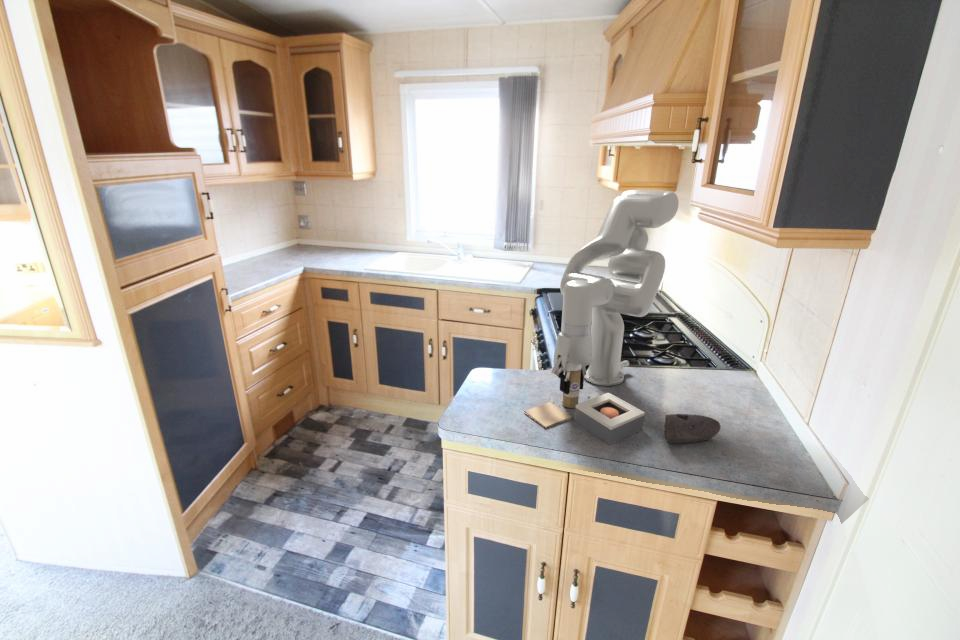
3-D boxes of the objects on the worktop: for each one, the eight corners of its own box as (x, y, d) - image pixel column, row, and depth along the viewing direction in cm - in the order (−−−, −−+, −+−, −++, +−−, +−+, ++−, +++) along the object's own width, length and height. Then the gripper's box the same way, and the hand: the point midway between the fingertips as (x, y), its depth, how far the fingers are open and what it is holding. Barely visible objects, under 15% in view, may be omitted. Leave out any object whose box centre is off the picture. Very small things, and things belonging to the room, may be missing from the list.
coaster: (549, 403, 129) (549, 401, 128) (571, 418, 121) (572, 416, 121) (524, 412, 124) (524, 410, 124) (545, 428, 117) (545, 426, 117)
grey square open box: (606, 408, 126) (608, 392, 124) (642, 429, 116) (644, 412, 115) (574, 421, 120) (575, 404, 118) (609, 444, 110) (611, 426, 109)
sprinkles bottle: (568, 410, 125) (571, 365, 121) (558, 402, 129) (561, 359, 124) (582, 406, 127) (585, 362, 122) (571, 399, 131) (575, 356, 126)
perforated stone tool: (712, 432, 115) (717, 408, 113) (724, 444, 110) (729, 420, 108) (654, 435, 114) (658, 411, 112) (664, 448, 109) (668, 423, 107)
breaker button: (608, 410, 120) (609, 405, 120) (622, 418, 117) (622, 413, 116) (595, 415, 118) (596, 410, 117) (609, 424, 114) (610, 418, 114)
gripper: (588, 317, 127) (583, 376, 134) (541, 329, 119) (538, 392, 125) (609, 326, 121) (603, 387, 128) (561, 339, 113) (557, 404, 119)
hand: (571, 389), depth 126 cm, fingers closed on sprinkles bottle, 4 cm apart
